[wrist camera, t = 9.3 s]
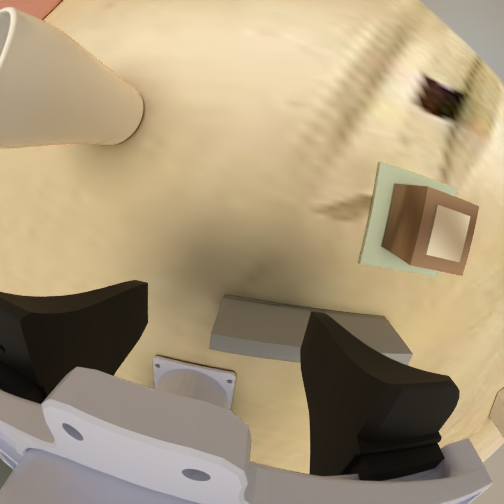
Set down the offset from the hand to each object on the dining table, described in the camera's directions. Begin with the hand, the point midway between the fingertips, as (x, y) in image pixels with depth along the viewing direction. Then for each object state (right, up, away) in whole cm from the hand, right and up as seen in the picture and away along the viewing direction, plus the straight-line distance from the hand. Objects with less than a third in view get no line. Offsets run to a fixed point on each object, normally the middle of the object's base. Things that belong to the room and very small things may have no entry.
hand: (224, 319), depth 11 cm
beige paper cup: (-10, +14, +7) cm, 19 cm away
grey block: (+6, -4, +11) cm, 13 cm away
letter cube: (+14, +5, +8) cm, 17 cm away
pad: (+14, +5, +8) cm, 17 cm away
